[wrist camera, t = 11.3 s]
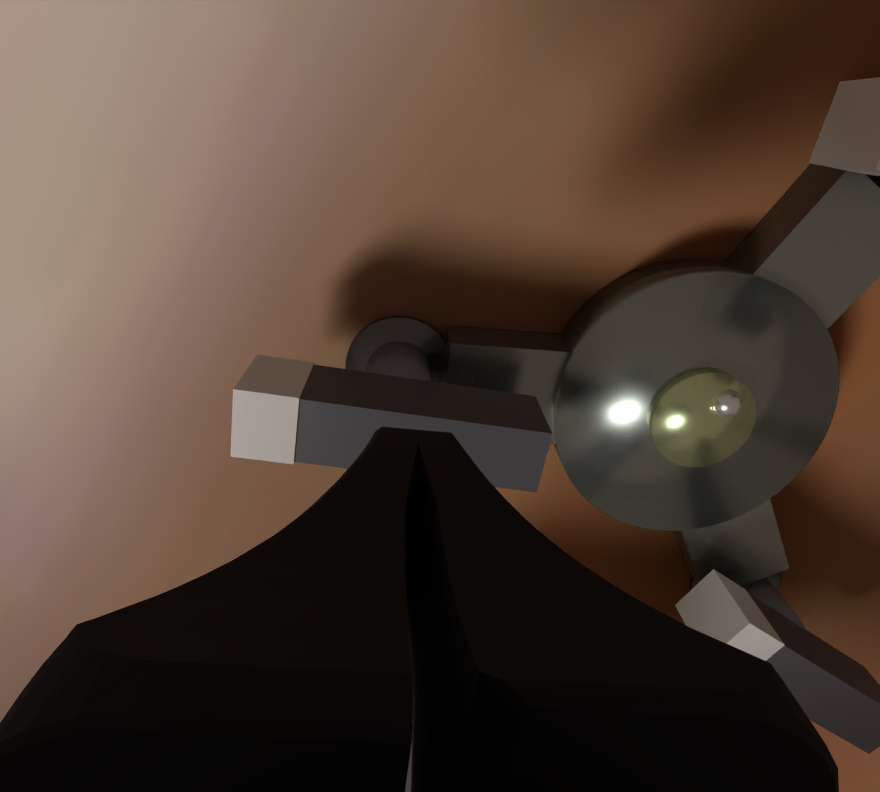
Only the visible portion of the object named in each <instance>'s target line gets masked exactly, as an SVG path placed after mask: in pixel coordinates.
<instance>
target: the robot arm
mask: <svg viewBox="0 0 880 792" xmlns="http://www.w3.org/2000/svg"><path fill="white" fill-rule="evenodd" d="M0 792H839V786H838V768H837V766H836V764H835V762H834V760H833V758H832V756H831V754H830V752H829V750H828V748H827V746H826V744H825V743H824V741H823V740H822V738H821V737H820V735H819V734H818V732H817V731H816V729H815V728H814V726H813V724H812V723H811V721H810V720H809V718H808V717H807V715H806V714H805V712H804V711H803V709H802V708H801V706H800V705H799V703H798V702H797V700H796V699H795V697H794V696H793V694H792V693H791V691H790V690H789V688H788V687H787V686H786V684H785V683H784V681H783V680H782V678H781V677H780V675H779V674H778V673H777V671H776V670H775V669H774V667H773V666H772V665H771V663H769V662H767V661H765V660H762V659H760V658H758V657H756V656H753V655H751V654H749V653H747V652H744V651H742V650H740V649H737V648H735V647H733V646H731V645H728V644H726V643H724V642H722V641H719V640H717V639H715V638H713V637H710V636H708V635H706V634H704V633H701V632H699V631H697V630H695V629H692V628H690V627H688V626H686V625H684V624H682V623H680V622H678V621H676V620H675V619H673V618H671V617H669V616H667V615H665V614H663V613H661V612H659V611H658V610H656V609H654V608H652V607H650V606H648V605H646V604H644V603H643V602H641V601H639V600H637V599H636V598H634V597H632V596H631V595H629V594H627V593H625V592H624V591H622V590H620V589H619V588H617V587H615V586H614V585H612V584H611V583H609V582H608V581H606V580H605V579H603V578H602V577H600V576H599V575H597V574H596V573H594V572H592V571H591V570H589V569H588V568H586V567H585V566H583V565H582V564H580V563H579V562H578V561H576V560H575V559H574V558H572V557H571V556H569V555H568V554H567V553H565V552H564V551H563V550H562V549H560V548H559V547H558V546H557V545H555V544H554V543H553V542H552V541H550V540H549V539H548V538H547V537H546V536H544V535H543V534H542V533H541V532H539V531H538V530H537V529H536V528H535V527H534V526H533V525H531V524H530V523H529V522H528V521H527V520H526V519H525V518H524V517H523V516H522V515H521V514H520V513H519V512H518V511H517V510H516V509H515V508H514V507H513V506H512V505H511V504H510V503H509V502H508V501H507V500H506V499H505V498H504V497H503V496H502V495H501V494H500V493H499V492H498V491H497V490H496V489H495V487H494V486H493V485H492V484H491V483H490V482H489V480H488V479H487V478H486V477H485V476H484V474H483V473H482V472H481V471H480V469H479V468H478V467H477V466H476V464H475V463H474V462H473V460H472V459H471V458H470V456H469V455H468V454H467V452H466V451H465V450H464V448H463V447H462V446H461V444H460V443H459V442H458V440H457V439H456V438H455V436H454V435H453V434H452V433H451V432H439V431H427V430H415V429H403V428H392V427H380V428H379V429H378V430H377V431H375V432H374V434H373V436H372V438H371V440H370V441H369V443H368V444H367V446H366V447H365V449H364V450H363V451H362V453H361V454H360V455H359V456H358V458H357V459H356V460H355V461H354V463H353V464H352V465H351V466H350V467H349V468H348V469H347V471H346V472H345V473H344V474H343V475H342V476H341V478H340V479H339V480H338V481H337V482H336V483H335V484H334V485H333V486H332V487H331V488H330V489H329V490H328V491H327V492H326V493H324V494H323V495H322V496H321V497H320V498H319V499H318V500H317V501H316V502H315V503H314V504H313V505H312V506H311V507H310V508H308V509H307V510H306V511H305V512H304V513H303V514H301V515H300V516H299V517H298V518H296V519H295V520H294V521H293V522H291V523H290V524H289V525H287V526H286V527H285V528H283V529H282V530H281V531H279V532H278V533H277V534H275V535H274V536H272V537H271V538H269V539H267V540H266V541H264V542H262V543H261V544H259V545H257V546H256V547H254V548H252V549H251V550H249V551H247V552H246V553H244V554H243V555H241V556H239V557H238V558H236V559H234V560H232V561H230V562H229V563H227V564H225V565H223V566H221V567H219V568H217V569H215V570H213V571H211V572H209V573H207V574H205V575H203V576H201V577H198V578H196V579H194V580H192V581H190V582H187V583H185V584H183V585H181V586H179V587H177V588H174V589H172V590H169V591H167V592H165V593H162V594H160V595H157V596H155V597H152V598H149V599H147V600H144V601H141V602H138V603H136V604H133V605H130V606H128V607H125V608H122V609H119V610H117V611H114V612H111V613H109V614H106V615H103V616H100V617H98V618H95V619H92V620H89V621H86V622H83V623H80V624H77V625H76V626H75V627H74V628H73V630H72V631H71V632H70V633H69V635H68V636H67V637H66V638H65V640H64V641H63V642H62V643H61V644H60V645H59V646H58V648H57V649H56V650H55V651H54V652H53V653H52V654H51V656H50V657H49V658H48V659H47V660H46V661H45V662H44V663H43V665H42V666H41V667H40V669H39V670H38V671H37V673H36V674H35V675H34V676H33V678H32V679H31V680H30V682H29V683H28V684H27V686H26V687H25V688H24V689H23V691H22V692H21V694H20V695H19V697H18V698H17V699H16V701H15V702H14V704H13V705H12V707H11V708H10V710H9V711H8V712H7V714H6V715H5V717H4V718H3V720H2V721H1V722H0Z"/></svg>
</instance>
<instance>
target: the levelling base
mask: <svg viewBox="0 0 880 792" xmlns="http://www.w3.org/2000/svg"><path fill="white" fill-rule="evenodd" d="M879 276H880V187H878V186H877V185H876V184H875V183H874V182H873V181H872V180H871V179H870V178H869V177H868V176H867V175H865V174H862V173H857V172H852V171H846V170H841V169H836V168H831V167H826V166H821V165H816V164H811V165H810V166H809V167H808V168H807V169H806V170H805V171H804V173H803V174H802V175H801V176H800V177H799V178H798V179H797V181H796V182H795V183H794V184H793V185H792V186H791V187H790V189H789V190H788V191H787V192H786V193H785V194H784V195H783V197H782V198H781V199H780V200H779V201H778V202H777V203H776V204H775V206H774V207H773V208H772V209H771V210H770V211H769V212H768V214H767V215H766V216H765V217H764V218H763V219H762V220H761V222H760V223H759V224H758V225H757V226H756V227H755V228H754V230H753V231H752V232H751V233H750V234H749V235H748V236H747V238H746V239H745V240H744V241H743V242H742V243H741V244H740V246H739V247H738V248H737V249H736V250H735V251H734V252H733V254H732V255H731V256H730V257H729V258H728V259H727V260H726V262H721V261H716V260H709V259H697V258H684V259H675V260H667V261H663V262H659V263H654V264H650V265H647V266H645V267H642V268H639V269H637V270H634V271H631V272H630V273H628V274H626V275H624V276H622V277H620V278H618V279H616V280H614V281H613V282H611V283H610V284H608V285H607V286H605V287H604V288H602V289H601V290H600V291H598V292H597V293H596V294H595V295H594V296H593V297H591V298H590V299H589V300H588V301H587V302H586V303H585V304H584V305H583V306H582V307H581V308H580V309H579V310H578V311H577V312H576V313H575V314H574V316H573V317H572V318H571V320H570V321H569V322H568V324H567V325H566V327H565V328H564V329H563V331H562V332H561V334H549V333H536V332H523V331H510V330H498V329H485V328H472V327H459V326H448V329H447V339H446V342H445V340H444V339H443V338H442V336H441V335H440V334H439V333H438V332H437V331H436V330H435V329H434V328H433V327H431V326H430V325H428V324H426V323H425V322H423V321H420V320H418V319H415V318H411V317H405V316H392V317H386V318H382V319H379V320H377V321H374V322H373V323H371V324H369V325H368V326H366V327H365V328H364V329H362V330H361V331H360V332H359V333H358V335H357V336H356V337H355V338H354V340H353V342H352V343H351V346H350V348H349V350H348V354H347V358H346V369H348V370H355V371H362V372H365V371H366V366H367V362H368V360H369V358H370V356H371V355H372V353H373V352H374V351H375V350H376V349H377V348H379V347H380V346H382V345H384V344H386V343H389V342H394V341H403V342H408V343H411V344H413V345H415V346H417V347H419V348H420V349H421V350H422V351H423V352H424V353H425V354H426V355H427V357H428V358H429V360H430V363H431V367H432V377H433V382H439V383H446V384H453V385H460V386H467V387H474V388H481V389H488V390H495V391H502V392H509V393H516V394H523V395H531V396H536V398H537V400H538V402H539V405H540V407H541V409H542V411H543V414H544V416H545V418H546V421H547V423H548V425H549V427H550V430H551V432H552V436H551V440H550V444H554V446H555V448H556V451H557V453H558V455H559V458H560V460H561V462H562V464H563V467H564V469H565V471H566V473H567V474H568V476H569V478H570V480H571V482H572V483H573V484H574V486H575V487H576V488H577V490H578V491H579V492H580V494H581V495H582V496H583V497H585V498H586V499H587V500H588V501H589V502H590V503H591V504H592V505H593V506H595V507H596V508H597V509H599V510H600V511H602V512H603V513H605V514H607V515H609V516H610V517H612V518H614V519H616V520H618V521H621V522H624V523H626V524H629V525H632V526H636V527H641V528H645V529H652V530H661V531H673V532H674V534H675V537H676V540H677V542H678V545H679V548H680V551H681V553H682V556H683V559H684V561H685V564H686V567H687V569H688V570H689V572H690V574H691V575H692V578H691V582H690V591H691V590H692V589H693V588H694V587H695V586H696V585H697V584H698V583H699V582H700V581H701V580H702V579H703V578H704V577H706V576H707V575H708V574H709V573H710V572H711V571H712V570H713V569H714V570H716V571H717V572H719V573H720V574H722V575H724V576H725V577H727V578H728V579H730V580H731V581H733V582H735V583H736V584H738V585H739V586H743V585H746V584H748V583H751V582H754V581H757V580H759V579H762V578H765V577H767V578H768V579H769V580H770V582H771V583H772V584H773V586H774V587H775V588H776V590H777V588H778V586H779V583H780V579H781V571H784V570H787V569H790V568H789V564H788V561H787V557H786V554H785V550H784V547H783V543H782V539H781V536H780V532H779V529H778V525H777V522H776V518H775V515H774V511H773V507H772V504H771V500H770V498H772V497H773V496H774V495H776V494H777V493H778V492H780V491H781V490H782V489H783V488H784V487H785V486H787V485H788V484H789V483H790V482H791V481H792V480H793V479H794V478H795V477H796V476H797V475H798V474H799V473H800V472H801V471H802V470H803V469H804V467H805V466H806V465H807V463H808V462H809V461H810V459H811V458H812V457H813V456H814V454H815V453H816V451H817V449H818V448H819V446H820V444H821V443H822V441H823V439H824V437H825V435H826V433H827V431H828V428H829V426H830V424H831V421H832V418H833V415H834V412H835V408H836V404H837V398H838V392H839V366H838V358H837V354H836V350H835V347H834V344H833V340H832V338H831V336H830V334H829V332H828V330H827V329H828V328H829V327H830V326H831V325H832V324H833V323H834V322H835V321H836V320H837V319H838V318H839V317H840V316H841V315H842V314H843V313H844V312H845V311H846V310H847V309H848V308H849V307H850V306H851V305H852V304H853V303H854V302H855V301H856V300H857V299H858V298H859V297H860V296H861V295H862V294H863V292H864V291H865V290H866V289H867V288H868V287H869V286H870V285H871V284H872V283H873V282H874V281H875V280H876V279H877V278H878V277H879Z"/></svg>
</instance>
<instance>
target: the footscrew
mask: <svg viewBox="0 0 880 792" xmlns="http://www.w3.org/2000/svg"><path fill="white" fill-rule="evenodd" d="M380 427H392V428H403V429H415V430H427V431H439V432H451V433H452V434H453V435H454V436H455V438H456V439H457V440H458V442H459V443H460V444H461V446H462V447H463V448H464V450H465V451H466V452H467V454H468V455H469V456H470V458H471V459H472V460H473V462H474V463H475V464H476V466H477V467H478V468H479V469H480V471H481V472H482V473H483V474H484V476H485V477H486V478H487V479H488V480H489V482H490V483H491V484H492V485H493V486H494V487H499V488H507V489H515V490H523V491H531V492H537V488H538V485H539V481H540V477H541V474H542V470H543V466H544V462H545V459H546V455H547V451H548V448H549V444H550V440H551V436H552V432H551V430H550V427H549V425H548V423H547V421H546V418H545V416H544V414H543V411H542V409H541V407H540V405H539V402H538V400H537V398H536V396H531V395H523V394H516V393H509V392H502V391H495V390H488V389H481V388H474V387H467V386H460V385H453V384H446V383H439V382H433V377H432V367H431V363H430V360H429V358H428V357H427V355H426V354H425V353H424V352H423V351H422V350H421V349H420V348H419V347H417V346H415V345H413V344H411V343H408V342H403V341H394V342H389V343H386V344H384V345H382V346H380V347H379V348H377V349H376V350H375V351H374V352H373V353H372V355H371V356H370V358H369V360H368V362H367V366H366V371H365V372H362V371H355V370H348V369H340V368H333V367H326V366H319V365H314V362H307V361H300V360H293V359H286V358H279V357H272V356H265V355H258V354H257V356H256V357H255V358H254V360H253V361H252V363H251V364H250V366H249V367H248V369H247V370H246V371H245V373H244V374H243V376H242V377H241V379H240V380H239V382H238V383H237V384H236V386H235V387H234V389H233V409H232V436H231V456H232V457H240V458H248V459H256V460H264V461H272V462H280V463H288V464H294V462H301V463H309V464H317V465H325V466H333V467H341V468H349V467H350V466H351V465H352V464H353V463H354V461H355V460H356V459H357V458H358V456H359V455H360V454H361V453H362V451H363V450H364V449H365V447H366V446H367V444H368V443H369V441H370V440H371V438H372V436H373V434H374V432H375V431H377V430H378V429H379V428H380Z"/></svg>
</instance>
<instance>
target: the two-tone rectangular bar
mask: <svg viewBox="0 0 880 792" xmlns="http://www.w3.org/2000/svg"><path fill="white" fill-rule="evenodd" d="M809 163H810V164H816V165H821V166H826V167H831V168H836V169H841V170H846V171H852V172H857V173H862V174H865V175H867V176H868V177H869V178H870V179H871V180H872V181H873V182H874V183H875V184H876V185H877V186H878V187H880V77H878V78H869V79H859V80H849V81H840V83H839V85H838V88H837V90H836V93H835V96H834V98H833V101H832V103H831V106H830V109H829V111H828V114H827V116H826V119H825V122H824V124H823V127H822V129H821V132H820V135H819V137H818V140H817V142H816V145H815V148H814V150H813V153H812V155H811V158H810V161H809Z"/></svg>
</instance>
